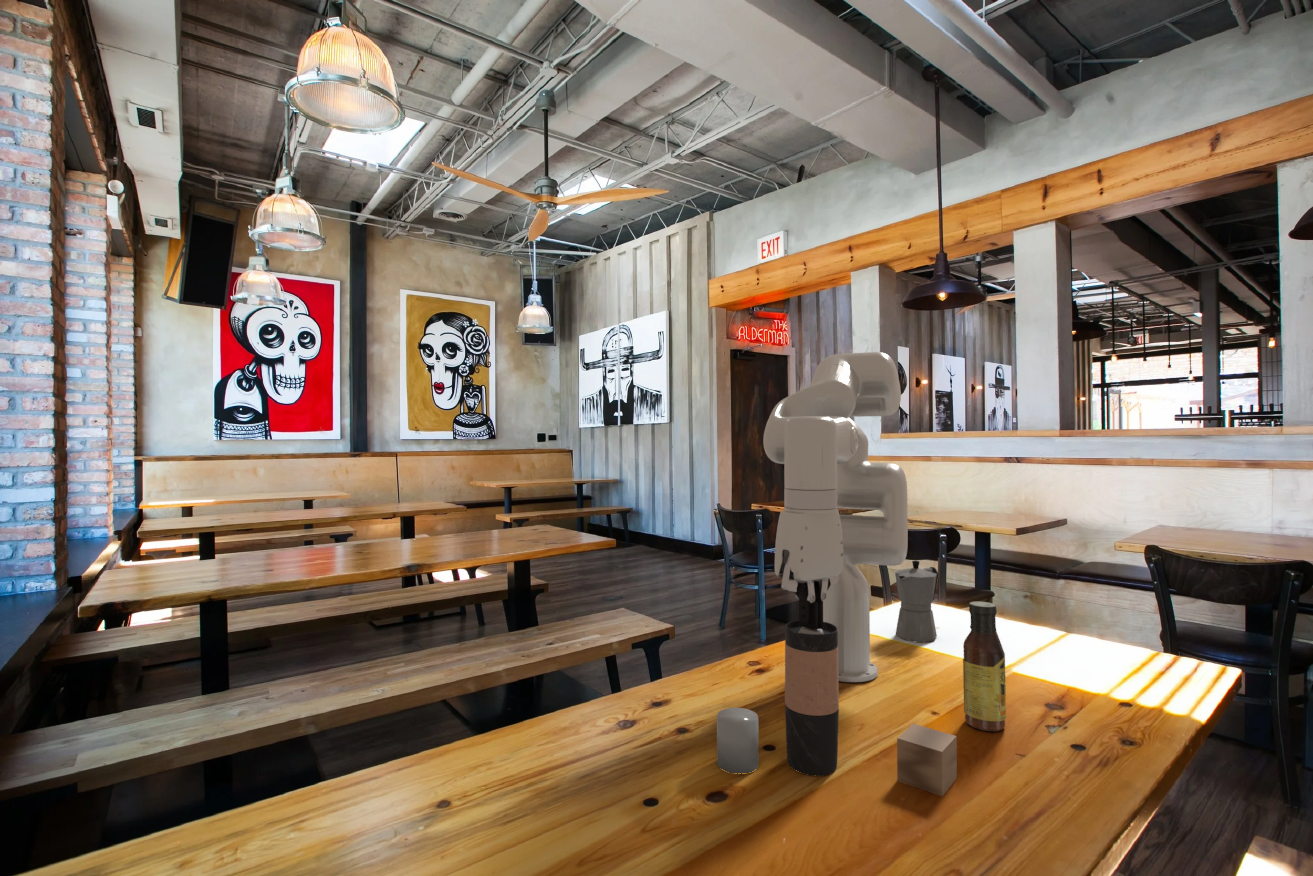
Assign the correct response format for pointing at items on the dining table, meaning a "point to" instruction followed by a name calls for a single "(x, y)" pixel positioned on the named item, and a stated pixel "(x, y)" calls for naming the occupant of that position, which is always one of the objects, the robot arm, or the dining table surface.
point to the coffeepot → (916, 603)
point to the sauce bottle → (984, 671)
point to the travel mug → (811, 698)
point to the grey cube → (927, 759)
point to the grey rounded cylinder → (737, 740)
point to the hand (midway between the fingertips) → (811, 626)
